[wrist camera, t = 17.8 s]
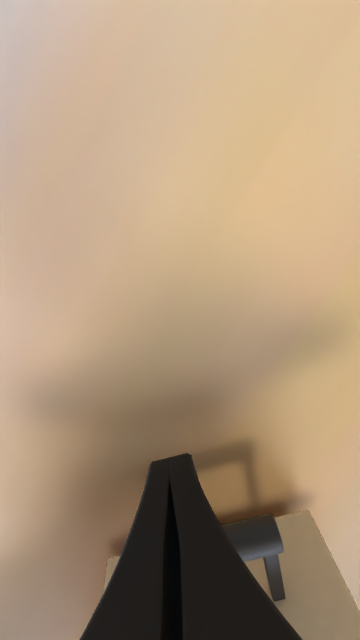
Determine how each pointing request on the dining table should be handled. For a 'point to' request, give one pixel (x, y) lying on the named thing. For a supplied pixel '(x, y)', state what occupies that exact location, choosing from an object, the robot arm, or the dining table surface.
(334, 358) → the dining table surface
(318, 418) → the dining table surface
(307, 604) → the drawer
